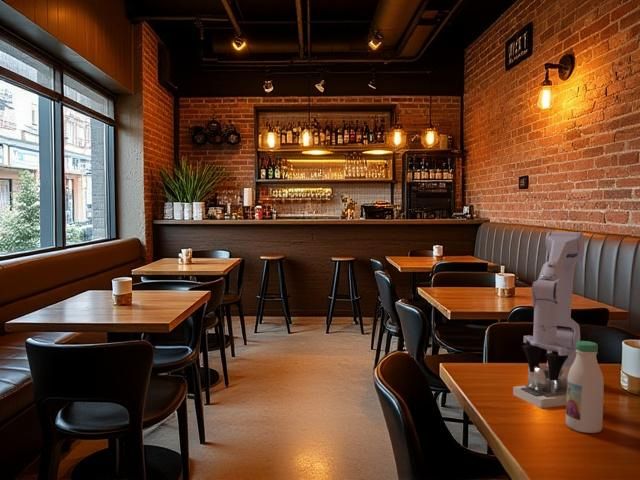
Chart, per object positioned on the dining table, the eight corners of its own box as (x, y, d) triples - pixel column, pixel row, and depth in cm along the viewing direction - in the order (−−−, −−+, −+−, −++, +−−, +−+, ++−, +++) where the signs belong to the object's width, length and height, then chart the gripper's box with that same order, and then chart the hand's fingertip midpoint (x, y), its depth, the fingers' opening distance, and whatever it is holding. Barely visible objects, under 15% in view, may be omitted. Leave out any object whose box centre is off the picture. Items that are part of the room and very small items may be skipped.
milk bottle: (599, 423, 134) (602, 340, 133) (604, 436, 127) (607, 348, 126) (564, 419, 137) (567, 337, 136) (567, 431, 130) (570, 345, 129)
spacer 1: (537, 382, 166) (537, 364, 166) (547, 387, 162) (548, 368, 162) (524, 383, 165) (525, 365, 164) (534, 388, 161) (535, 369, 160)
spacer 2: (530, 386, 153) (530, 366, 153) (544, 385, 154) (545, 365, 154) (539, 391, 149) (540, 370, 148) (554, 390, 150) (555, 369, 149)
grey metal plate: (558, 383, 158) (558, 381, 158) (579, 392, 150) (579, 390, 150) (525, 386, 154) (525, 384, 154) (545, 396, 147) (545, 394, 147)
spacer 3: (562, 383, 156) (562, 363, 156) (574, 388, 152) (574, 367, 151) (549, 384, 155) (549, 364, 154) (560, 389, 150) (561, 369, 150)
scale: (555, 389, 159) (555, 381, 159) (584, 402, 149) (585, 393, 149) (513, 394, 155) (513, 385, 155) (540, 408, 145) (540, 398, 144)
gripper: (514, 320, 156) (513, 369, 157) (551, 331, 142) (550, 385, 143) (536, 319, 158) (534, 367, 159) (574, 330, 144) (572, 382, 145)
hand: (543, 375), depth 151 cm, fingers open, 7 cm apart
